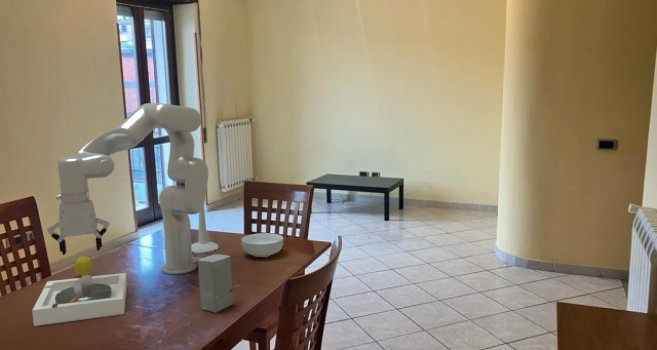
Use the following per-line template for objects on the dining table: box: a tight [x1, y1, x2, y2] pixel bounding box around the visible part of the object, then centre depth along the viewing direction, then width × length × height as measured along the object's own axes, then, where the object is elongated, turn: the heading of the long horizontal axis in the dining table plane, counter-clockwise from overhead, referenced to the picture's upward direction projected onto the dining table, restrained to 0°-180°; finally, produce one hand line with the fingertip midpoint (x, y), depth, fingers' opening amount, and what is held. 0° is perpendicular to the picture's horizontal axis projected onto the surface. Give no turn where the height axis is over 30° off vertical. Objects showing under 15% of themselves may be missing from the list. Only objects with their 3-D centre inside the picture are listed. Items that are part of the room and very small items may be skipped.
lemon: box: [74, 255, 92, 277], centre depth 187 cm, size 6×6×8 cm
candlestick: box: [191, 205, 220, 254], centre depth 218 cm, size 13×13×30 cm
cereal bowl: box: [240, 232, 284, 258], centre depth 211 cm, size 17×17×7 cm
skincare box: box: [197, 253, 234, 314], centre depth 160 cm, size 8×7×16 cm
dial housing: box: [31, 272, 128, 327], centre depth 163 cm, size 24×24×5 cm
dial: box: [55, 274, 112, 304], centre depth 163 cm, size 16×16×6 cm
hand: (81, 251), depth 161 cm, fingers open, 9 cm apart
